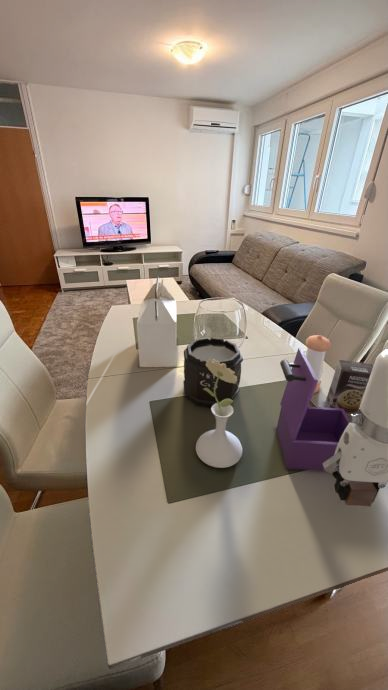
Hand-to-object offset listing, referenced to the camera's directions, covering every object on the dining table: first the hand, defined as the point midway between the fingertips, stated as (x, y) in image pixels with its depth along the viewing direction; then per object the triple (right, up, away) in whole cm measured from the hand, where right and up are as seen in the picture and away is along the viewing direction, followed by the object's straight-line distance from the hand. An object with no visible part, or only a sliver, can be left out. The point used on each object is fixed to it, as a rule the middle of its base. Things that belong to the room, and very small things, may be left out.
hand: (353, 493), depth 57 cm
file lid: (-7, +17, +10) cm, 21 cm away
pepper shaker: (+7, +14, +42) cm, 45 cm away
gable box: (-44, +25, +60) cm, 78 cm away
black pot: (-25, +13, +39) cm, 48 cm away
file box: (-1, +2, +18) cm, 18 cm away
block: (0, 0, 0) cm, 0 cm away
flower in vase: (-25, +2, +18) cm, 30 cm away
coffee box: (+13, +8, +31) cm, 35 cm away
